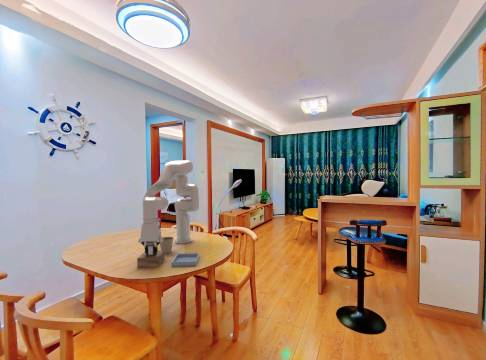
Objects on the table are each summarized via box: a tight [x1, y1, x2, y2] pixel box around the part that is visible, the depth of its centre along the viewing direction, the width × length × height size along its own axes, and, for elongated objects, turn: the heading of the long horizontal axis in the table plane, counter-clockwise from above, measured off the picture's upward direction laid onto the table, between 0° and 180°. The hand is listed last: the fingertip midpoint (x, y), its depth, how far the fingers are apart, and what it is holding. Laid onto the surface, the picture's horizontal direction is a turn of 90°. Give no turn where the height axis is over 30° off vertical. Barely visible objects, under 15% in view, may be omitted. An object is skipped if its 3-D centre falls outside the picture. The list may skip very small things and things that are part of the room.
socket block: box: [136, 250, 165, 269], centre depth 127 cm, size 11×11×5 cm
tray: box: [171, 252, 200, 268], centre depth 129 cm, size 13×13×2 cm
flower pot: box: [158, 236, 175, 255], centre depth 145 cm, size 9×9×9 cm
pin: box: [146, 242, 155, 256], centre depth 127 cm, size 5×5×12 cm
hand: (151, 253), depth 127 cm, fingers closed on pin, 3 cm apart
